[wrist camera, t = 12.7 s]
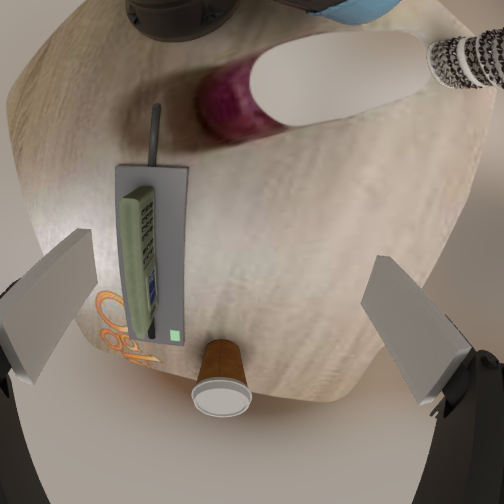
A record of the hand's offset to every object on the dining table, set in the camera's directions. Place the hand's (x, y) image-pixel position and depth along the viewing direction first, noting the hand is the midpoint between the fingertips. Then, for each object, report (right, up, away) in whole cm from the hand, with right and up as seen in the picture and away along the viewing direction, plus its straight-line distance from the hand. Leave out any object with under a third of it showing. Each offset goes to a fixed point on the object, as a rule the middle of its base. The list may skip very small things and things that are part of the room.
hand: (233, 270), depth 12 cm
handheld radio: (-15, -2, +28) cm, 32 cm away
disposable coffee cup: (-5, -17, +38) cm, 42 cm away
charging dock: (-14, +3, +27) cm, 31 cm away
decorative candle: (+32, +31, +17) cm, 48 cm away
